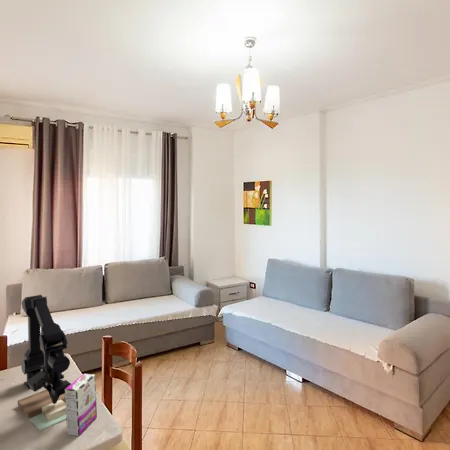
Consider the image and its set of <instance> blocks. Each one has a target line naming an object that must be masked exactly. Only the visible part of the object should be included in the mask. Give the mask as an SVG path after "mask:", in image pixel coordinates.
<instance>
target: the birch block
mask: <svg viewBox="0 0 450 450" xmlns="http://www.w3.org/2000/svg"><path fill="white" fill-rule="evenodd" d="M42 414H43V415H44V416H45V417H46V418H47V419H48V420H49V421H52V420H54V419H56V418H58V417H61V416H63V415H65V414H66V403H65V402H63V401H62V400H58V401H57V403H56V404H53V403H51V404H49V405H46V406H44V407H42Z"/></svg>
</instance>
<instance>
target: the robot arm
mask: <svg viewBox="0 0 450 450" xmlns="http://www.w3.org/2000/svg"><path fill="white" fill-rule="evenodd" d="M47 297H48V296H43V295H42V294H38V295H31V296H30V295H29V296H25V297H24V298H23V300H22V301H21V307H22V308H21V309H22V310H23V312H24V313H25V314H26V316H27V326H28V327H27V330H28V332H27V335H28V336H27V337H28V340H27V341H28V345H27V346H28V349H27V350H26V351H25V352H24V355H23V356H24V359H23V360H22V363H21V366H20V367H21V371H22V373H23V375H26V381H24V382H23V385H25V386H26V387H27V389H31V390H32V391H33V392H38V391H39V390H41V389H43V388H44V390H47V391H48V392H49V395H50V397H51V400H52V403H53V404H56V403H57V401H58V398H59V396H60V395H62V394H65V389H66V388H67V387H68V386H69V385H71V384H72V382H70V381H69V380H66V379H64V378H65V375H64V374H63V373H64V372H66V371H67V370H68V368H69V367H70V364H71V360H70V358H69V357H68V356H66V354H65V353H64V350H65V349H68V340H67V337H66V334H65V332H64V330H62V328H61V326H60V325H59V323H56V322H55V321H54V319H53V317H52V314H51V311H50V309H49V306H48V298H47ZM63 379H64V380H63Z"/></svg>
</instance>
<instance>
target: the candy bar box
mask: <svg viewBox="0 0 450 450" xmlns="http://www.w3.org/2000/svg"><path fill="white" fill-rule="evenodd" d="M96 388H97V387H96V374H91V373H83V374H81V375H80V376H79V377H78V378H76V379H75V380H74V381H73V382H71V385H69V386H68V387H67V388H66V389H65V403H66V420H65V421H66V435H67V436H73V437H80V436H82V434H83V433H84V432H85V431H86V430H87V428H89V426H91V424H92V423H93V422H94V421H95V420H96V419H97V417H98V413H97V410H98V409H97V389H96Z"/></svg>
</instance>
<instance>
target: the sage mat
mask: <svg viewBox="0 0 450 450" xmlns="http://www.w3.org/2000/svg"><path fill="white" fill-rule="evenodd" d="M29 421H30V422H31V423H32V424H33V426H35V427H36V428H37V429H38V430H39V432H43V431H44V430H46V429H49V428H50V427H53V426H56V425H58V424H60V423H62V422H63V421H67V420H66V414H65V415H63V416H61V417H58V418H56V419H54V420H52V421H49V420H48V419H47V418H46V417H45V416H44V415H43V414H42V413H41V414H39V415H36V416H34V417H32V418H29Z"/></svg>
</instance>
